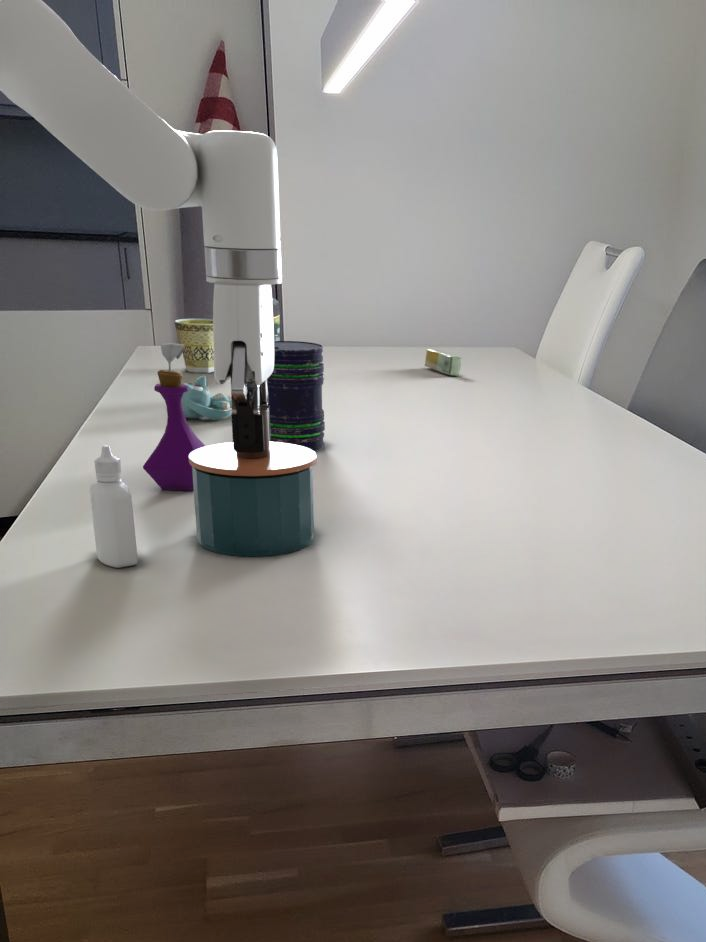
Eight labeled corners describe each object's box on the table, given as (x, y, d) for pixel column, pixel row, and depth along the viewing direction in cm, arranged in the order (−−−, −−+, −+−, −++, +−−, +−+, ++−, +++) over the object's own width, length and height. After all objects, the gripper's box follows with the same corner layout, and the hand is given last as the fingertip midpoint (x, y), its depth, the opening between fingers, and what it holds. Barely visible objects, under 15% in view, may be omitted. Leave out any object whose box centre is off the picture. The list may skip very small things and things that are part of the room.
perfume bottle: (203, 495, 131) (193, 349, 124) (144, 492, 131) (131, 346, 124) (218, 480, 138) (209, 341, 131) (162, 477, 138) (150, 338, 131)
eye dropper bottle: (142, 551, 110) (131, 439, 105) (136, 568, 105) (125, 452, 100) (98, 552, 109) (86, 439, 104) (91, 570, 104) (78, 452, 99)
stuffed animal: (257, 385, 174) (191, 377, 165) (251, 428, 176) (186, 422, 167) (226, 376, 181) (161, 367, 173) (221, 417, 183) (157, 410, 175)
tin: (186, 555, 110) (181, 476, 106) (211, 520, 121) (206, 448, 118) (306, 558, 110) (304, 480, 107) (319, 523, 122) (317, 452, 118)
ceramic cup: (201, 375, 212) (198, 325, 208) (167, 369, 217) (164, 320, 213) (246, 369, 222) (244, 320, 218) (213, 363, 227) (211, 316, 223)
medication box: (460, 376, 225) (462, 357, 224) (449, 375, 224) (452, 356, 223) (434, 366, 235) (436, 348, 233) (423, 366, 233) (425, 347, 232)
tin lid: (176, 479, 106) (171, 419, 103) (204, 449, 118) (200, 395, 116) (309, 483, 106) (307, 423, 104) (323, 453, 119) (322, 399, 117)
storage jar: (292, 436, 164) (289, 339, 158) (338, 446, 159) (337, 346, 153) (245, 446, 157) (240, 344, 151) (292, 456, 151) (289, 352, 146)
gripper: (222, 260, 112) (231, 429, 119) (187, 271, 97) (201, 464, 104) (292, 263, 112) (297, 431, 119) (268, 274, 97) (276, 466, 104)
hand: (252, 445), depth 111 cm, fingers closed on tin lid, 3 cm apart
